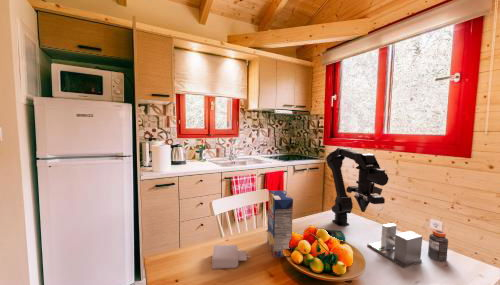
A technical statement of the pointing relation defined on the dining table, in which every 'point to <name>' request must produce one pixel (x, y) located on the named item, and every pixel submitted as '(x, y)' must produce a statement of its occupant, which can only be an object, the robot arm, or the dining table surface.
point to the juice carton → (279, 222)
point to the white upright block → (388, 236)
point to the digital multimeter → (336, 234)
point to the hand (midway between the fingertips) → (363, 211)
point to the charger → (227, 256)
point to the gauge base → (402, 249)
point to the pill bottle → (438, 245)
